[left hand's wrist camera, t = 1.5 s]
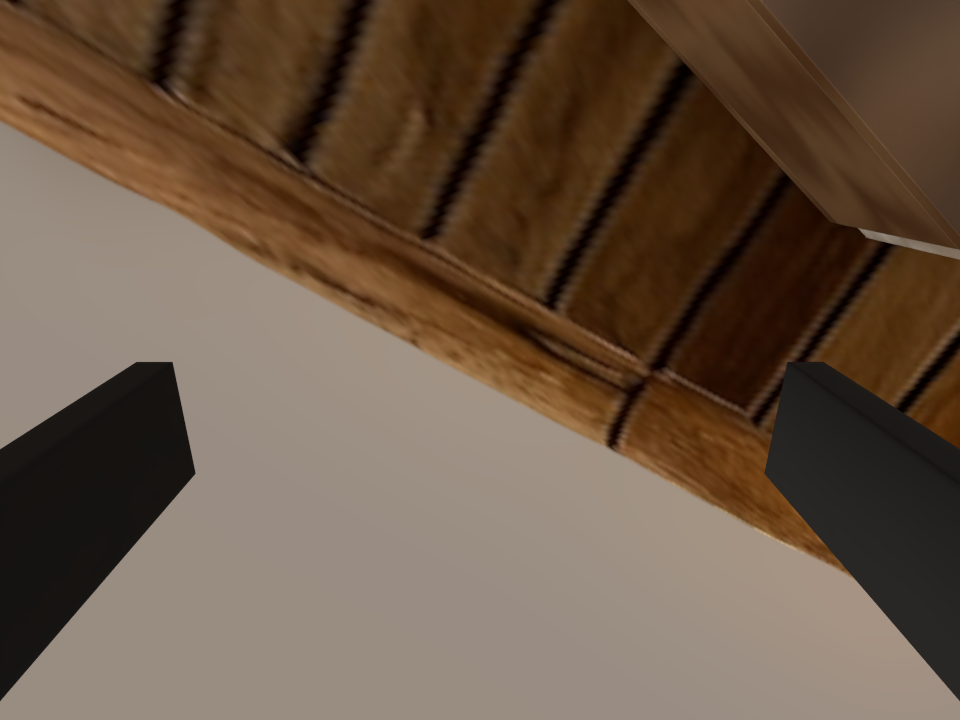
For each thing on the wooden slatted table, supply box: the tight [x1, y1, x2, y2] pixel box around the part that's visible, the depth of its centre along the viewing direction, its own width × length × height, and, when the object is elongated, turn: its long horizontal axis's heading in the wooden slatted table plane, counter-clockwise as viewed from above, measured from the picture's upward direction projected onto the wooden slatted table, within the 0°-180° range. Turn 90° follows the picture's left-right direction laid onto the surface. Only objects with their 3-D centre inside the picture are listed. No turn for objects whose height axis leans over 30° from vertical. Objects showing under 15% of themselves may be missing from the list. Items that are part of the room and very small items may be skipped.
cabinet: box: [627, 0, 960, 250], centre depth 26 cm, size 20×10×11 cm, turn 49°
